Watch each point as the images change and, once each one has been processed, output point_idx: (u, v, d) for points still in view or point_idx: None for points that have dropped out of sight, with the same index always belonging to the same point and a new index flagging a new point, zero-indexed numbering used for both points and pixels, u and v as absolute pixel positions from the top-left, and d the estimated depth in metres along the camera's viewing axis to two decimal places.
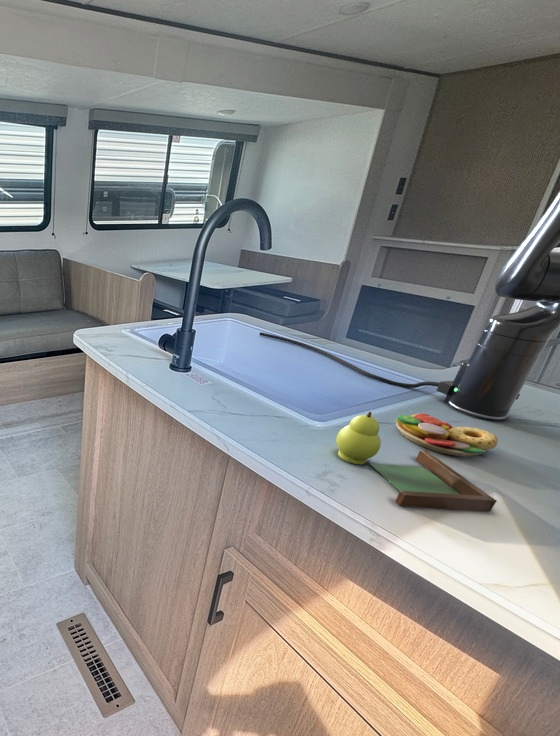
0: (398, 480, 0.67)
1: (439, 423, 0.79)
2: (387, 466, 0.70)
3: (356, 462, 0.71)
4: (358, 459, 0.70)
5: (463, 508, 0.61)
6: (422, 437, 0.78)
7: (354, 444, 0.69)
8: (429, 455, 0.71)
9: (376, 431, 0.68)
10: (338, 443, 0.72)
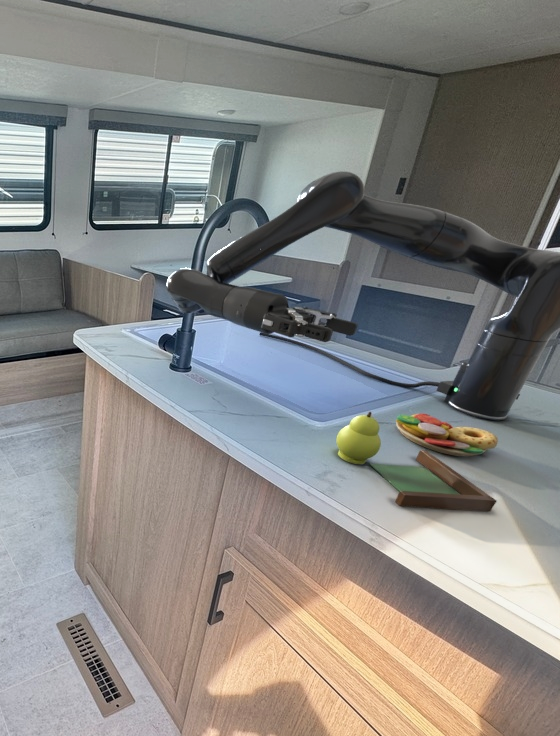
0: (398, 480, 0.67)
1: (439, 423, 0.79)
2: (387, 466, 0.70)
3: (356, 462, 0.71)
4: (358, 459, 0.70)
5: (463, 508, 0.61)
6: (422, 437, 0.78)
7: (354, 444, 0.69)
8: (429, 455, 0.71)
9: (376, 431, 0.68)
10: (338, 443, 0.72)
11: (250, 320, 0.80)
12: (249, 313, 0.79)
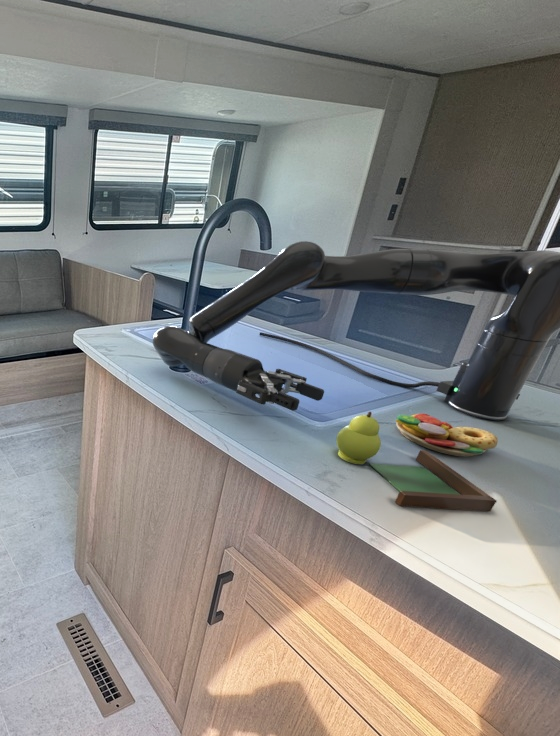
0: (398, 480, 0.67)
1: (439, 423, 0.79)
2: (387, 466, 0.70)
3: (356, 462, 0.71)
4: (358, 459, 0.70)
5: (463, 508, 0.61)
6: (422, 437, 0.78)
7: (354, 444, 0.69)
8: (429, 455, 0.71)
9: (376, 431, 0.68)
10: (338, 443, 0.72)
11: (228, 382, 0.86)
12: (226, 376, 0.86)
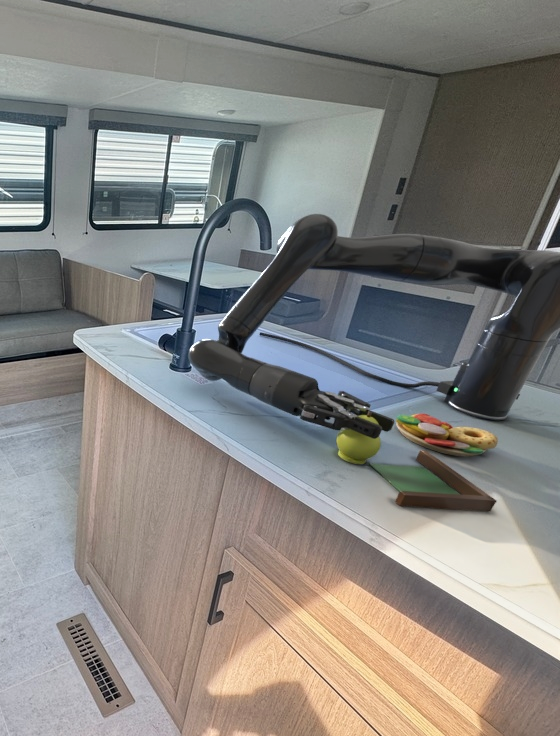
0: (398, 480, 0.67)
1: (439, 423, 0.79)
2: (387, 466, 0.70)
3: (356, 462, 0.71)
4: (358, 459, 0.70)
5: (463, 508, 0.61)
6: (422, 437, 0.78)
7: (354, 444, 0.69)
8: (429, 455, 0.71)
9: None
10: (338, 443, 0.72)
11: (280, 403, 0.78)
12: (278, 396, 0.77)
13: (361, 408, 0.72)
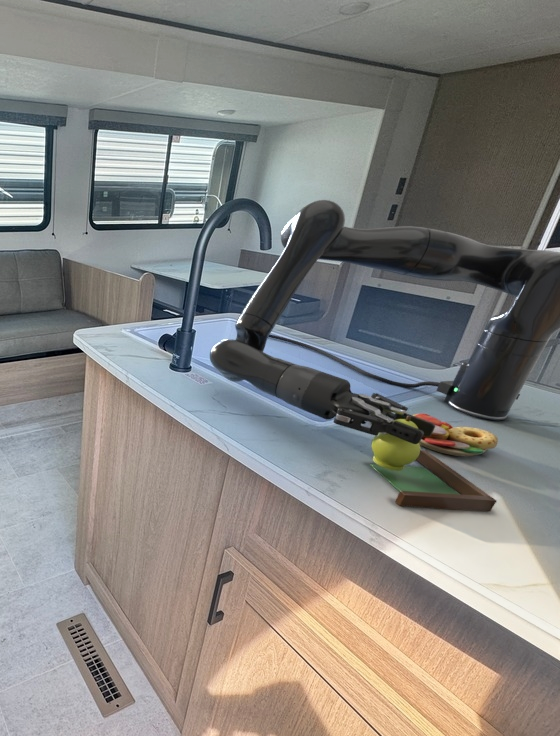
0: (398, 480, 0.67)
1: (439, 423, 0.79)
2: None
3: (394, 469, 0.67)
4: (396, 465, 0.67)
5: (463, 508, 0.61)
6: (422, 437, 0.78)
7: (392, 449, 0.66)
8: (429, 455, 0.71)
9: None
10: (374, 448, 0.68)
11: (310, 406, 0.74)
12: (308, 398, 0.74)
13: (398, 411, 0.68)
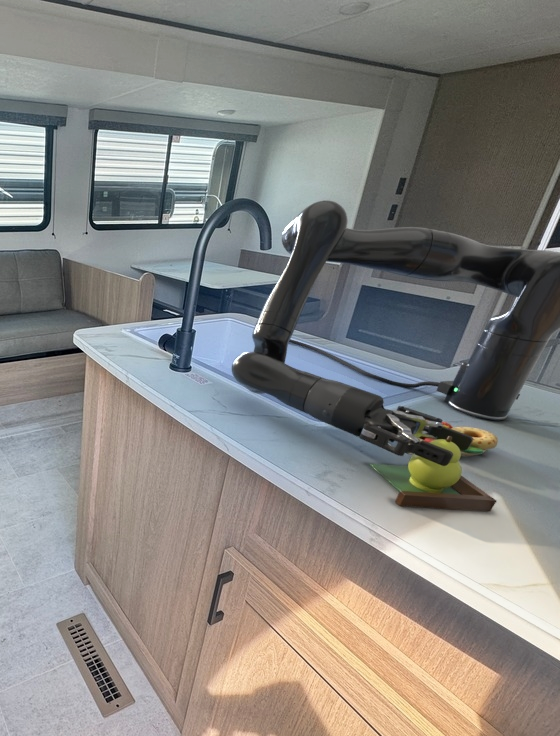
0: (398, 480, 0.67)
1: None
2: (387, 466, 0.70)
3: (433, 491, 0.64)
4: (435, 488, 0.64)
5: (463, 508, 0.61)
6: (422, 437, 0.78)
7: (432, 471, 0.63)
8: None
9: (458, 458, 0.62)
10: (411, 469, 0.65)
11: (341, 422, 0.71)
12: (340, 415, 0.71)
13: (434, 424, 0.67)
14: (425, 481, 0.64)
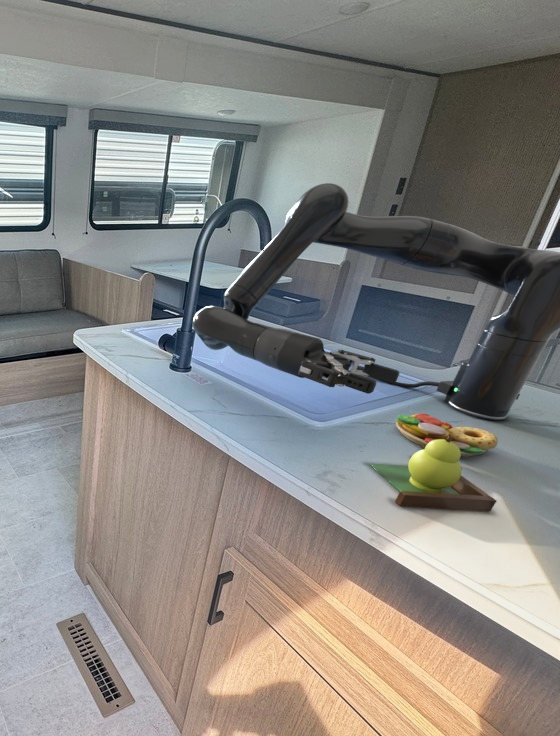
0: (398, 480, 0.67)
1: (439, 423, 0.79)
2: (387, 466, 0.70)
3: (433, 491, 0.64)
4: (435, 488, 0.64)
5: (463, 508, 0.61)
6: (422, 437, 0.78)
7: (432, 471, 0.63)
8: None
9: (458, 458, 0.62)
10: (411, 469, 0.65)
11: (285, 364, 0.77)
12: (283, 357, 0.77)
13: (366, 362, 0.73)
14: (425, 481, 0.64)
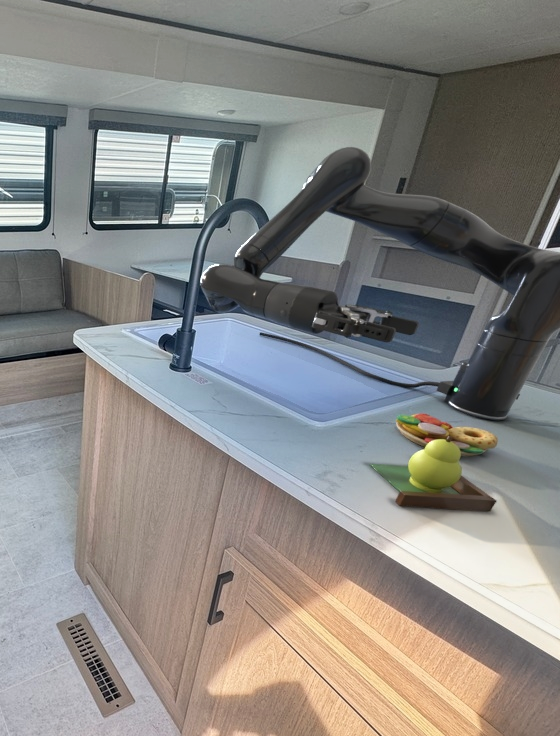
0: (398, 480, 0.67)
1: (439, 423, 0.79)
2: (387, 466, 0.70)
3: (433, 491, 0.64)
4: (435, 488, 0.64)
5: (463, 508, 0.61)
6: (422, 437, 0.78)
7: (432, 471, 0.63)
8: None
9: (458, 458, 0.62)
10: (411, 469, 0.65)
11: (297, 319, 0.74)
12: (296, 311, 0.74)
13: None
14: (425, 481, 0.64)
